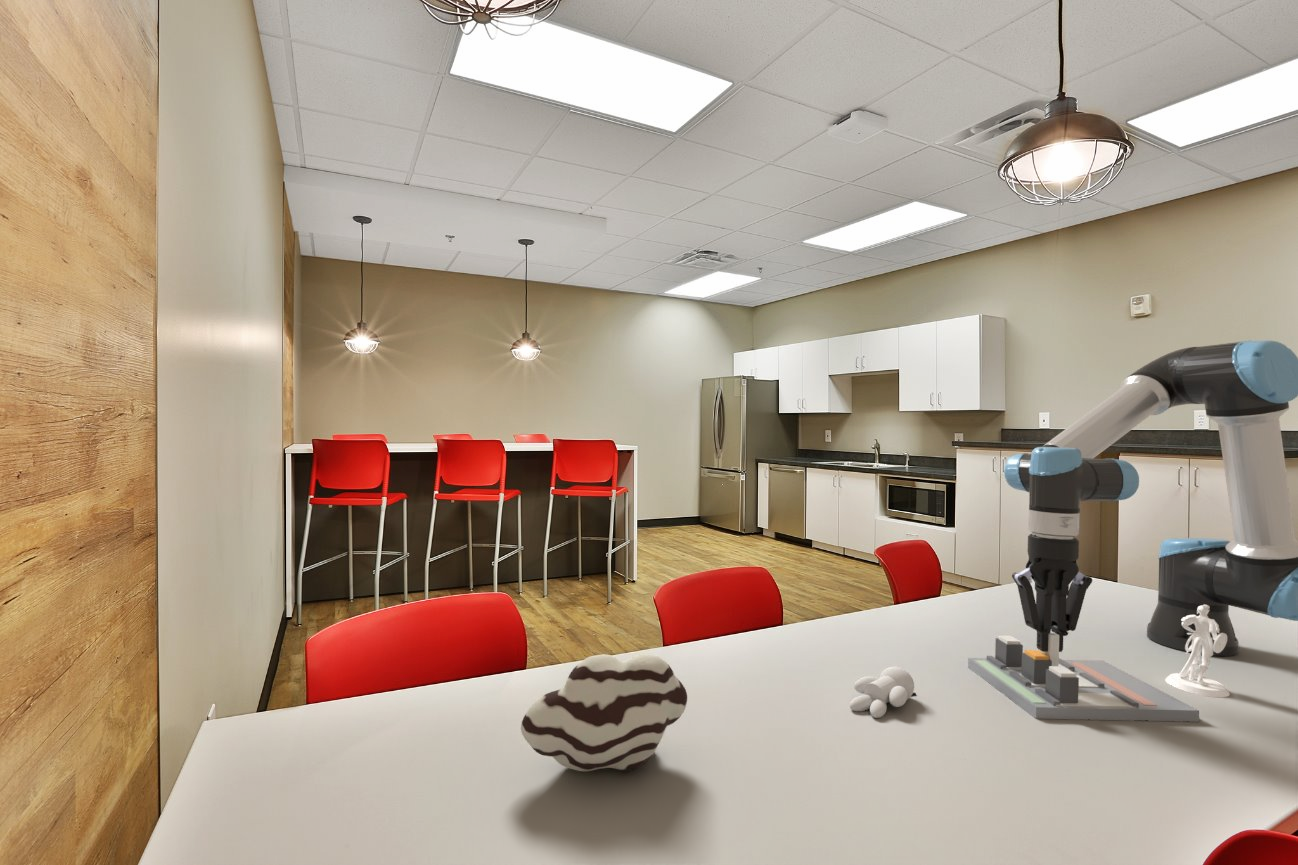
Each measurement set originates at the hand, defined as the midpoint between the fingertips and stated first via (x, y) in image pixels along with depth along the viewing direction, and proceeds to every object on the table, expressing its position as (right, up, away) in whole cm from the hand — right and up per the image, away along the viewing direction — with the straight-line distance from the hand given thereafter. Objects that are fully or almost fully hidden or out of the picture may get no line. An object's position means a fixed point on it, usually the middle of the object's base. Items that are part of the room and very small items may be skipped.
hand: (1049, 669), depth 110 cm
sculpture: (-76, -3, -28) cm, 81 cm away
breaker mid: (-2, -2, 0) cm, 3 cm away
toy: (-31, -4, -6) cm, 32 cm away
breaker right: (-3, -2, -7) cm, 8 cm away
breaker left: (-3, -2, +8) cm, 8 cm away
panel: (+4, -4, 0) cm, 6 cm away
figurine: (+29, -5, +4) cm, 30 cm away
